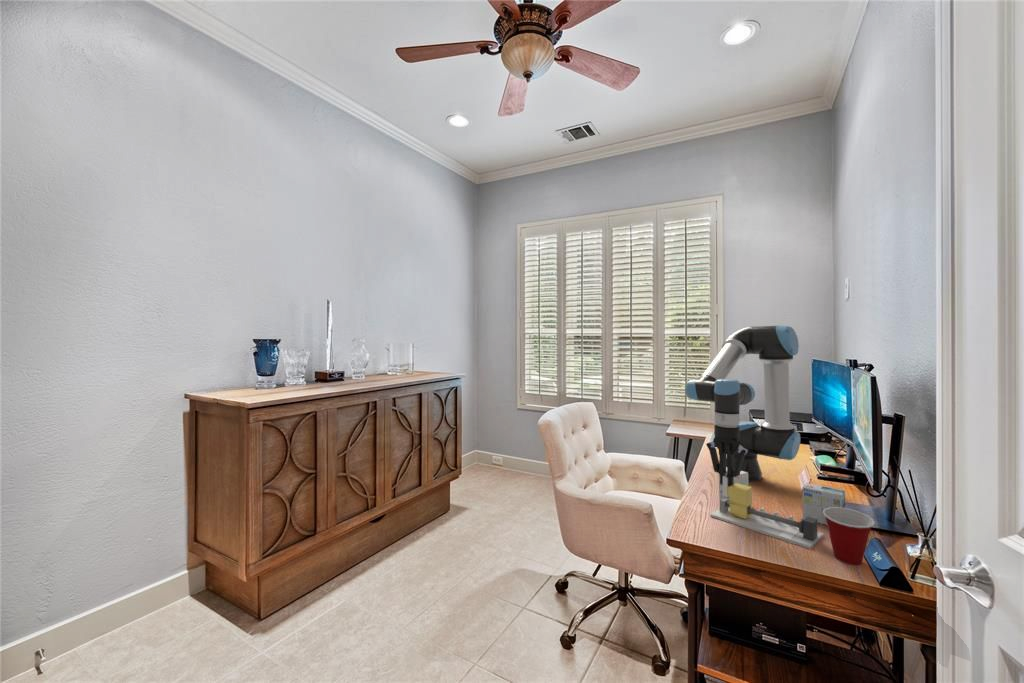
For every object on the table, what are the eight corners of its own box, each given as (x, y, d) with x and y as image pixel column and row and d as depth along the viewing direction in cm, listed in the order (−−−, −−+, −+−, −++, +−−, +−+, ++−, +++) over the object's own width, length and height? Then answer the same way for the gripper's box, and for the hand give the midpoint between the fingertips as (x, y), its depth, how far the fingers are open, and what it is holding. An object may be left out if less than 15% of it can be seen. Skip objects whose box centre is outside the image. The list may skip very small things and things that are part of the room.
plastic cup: (823, 562, 109) (823, 516, 109) (821, 545, 118) (821, 503, 118) (877, 575, 103) (878, 527, 103) (871, 557, 112) (871, 512, 112)
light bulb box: (846, 523, 133) (846, 489, 133) (843, 529, 128) (843, 495, 128) (805, 513, 140) (805, 481, 140) (801, 519, 135) (801, 486, 135)
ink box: (749, 505, 147) (749, 472, 147) (742, 508, 144) (742, 474, 144) (725, 497, 154) (725, 466, 154) (718, 500, 151) (718, 468, 151)
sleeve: (729, 514, 136) (729, 486, 136) (735, 510, 139) (735, 483, 139) (746, 519, 132) (746, 490, 132) (752, 515, 135) (752, 487, 135)
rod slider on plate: (710, 516, 137) (710, 498, 137) (726, 507, 145) (726, 490, 145) (810, 549, 116) (810, 527, 116) (823, 536, 123) (823, 516, 123)
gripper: (702, 423, 142) (702, 492, 142) (742, 430, 132) (742, 503, 132) (712, 421, 147) (712, 487, 147) (752, 426, 136) (752, 498, 136)
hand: (726, 495), depth 139 cm, fingers closed
